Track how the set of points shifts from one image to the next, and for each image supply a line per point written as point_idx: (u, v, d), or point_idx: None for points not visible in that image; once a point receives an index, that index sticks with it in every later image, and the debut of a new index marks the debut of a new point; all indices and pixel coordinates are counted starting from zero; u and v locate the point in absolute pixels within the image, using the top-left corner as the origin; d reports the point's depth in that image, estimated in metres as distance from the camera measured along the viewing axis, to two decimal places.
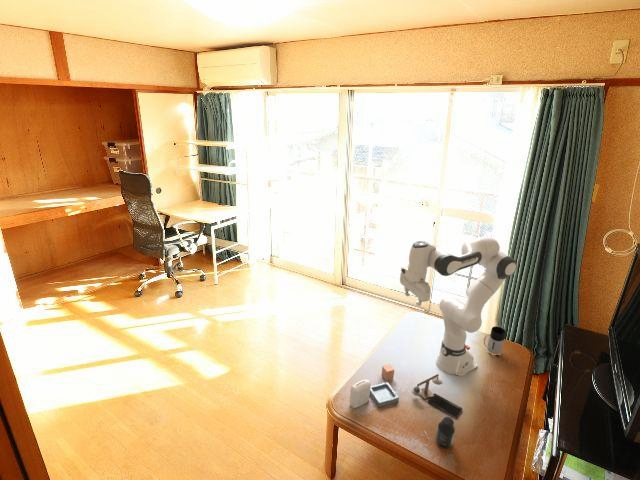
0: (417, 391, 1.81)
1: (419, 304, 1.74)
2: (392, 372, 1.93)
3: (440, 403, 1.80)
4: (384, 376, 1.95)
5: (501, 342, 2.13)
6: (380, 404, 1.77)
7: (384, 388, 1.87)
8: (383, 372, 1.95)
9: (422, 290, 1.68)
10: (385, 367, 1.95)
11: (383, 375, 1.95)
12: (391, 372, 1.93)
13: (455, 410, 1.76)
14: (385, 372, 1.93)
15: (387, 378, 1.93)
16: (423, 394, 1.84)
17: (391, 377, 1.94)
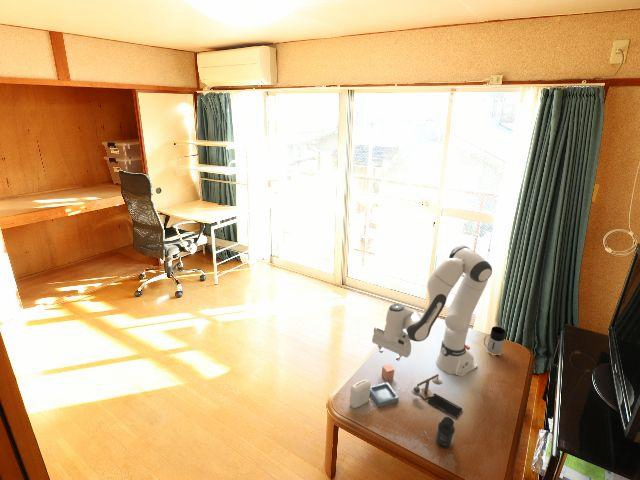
0: (417, 391, 1.81)
1: None
2: (392, 372, 1.93)
3: (440, 403, 1.80)
4: (384, 376, 1.95)
5: (501, 342, 2.13)
6: (380, 404, 1.77)
7: (384, 388, 1.87)
8: (383, 372, 1.95)
9: None
10: (385, 367, 1.95)
11: (383, 375, 1.95)
12: (391, 372, 1.93)
13: (455, 410, 1.76)
14: (385, 372, 1.93)
15: (387, 378, 1.93)
16: (423, 394, 1.84)
17: (391, 377, 1.94)
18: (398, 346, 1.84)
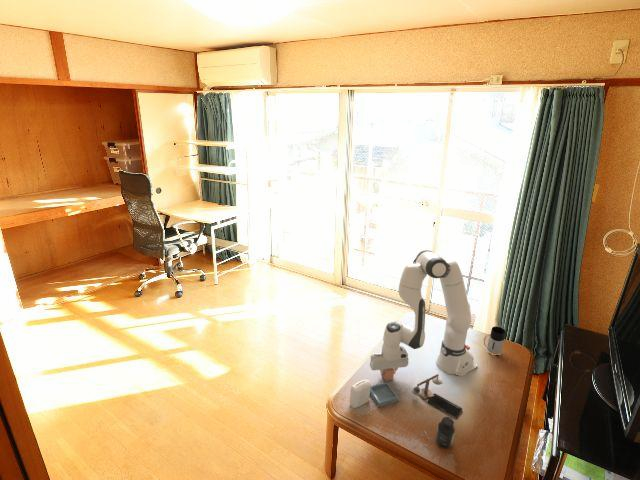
0: (417, 391, 1.81)
1: (380, 373, 1.95)
2: (392, 372, 1.93)
3: (440, 403, 1.80)
4: (384, 376, 1.95)
5: (501, 342, 2.13)
6: (380, 404, 1.77)
7: (384, 388, 1.87)
8: None
9: None
10: None
11: (383, 375, 1.95)
12: (391, 372, 1.93)
13: (455, 410, 1.76)
14: (385, 371, 1.93)
15: (387, 378, 1.93)
16: (423, 394, 1.84)
17: (391, 377, 1.94)
18: (398, 360, 1.92)
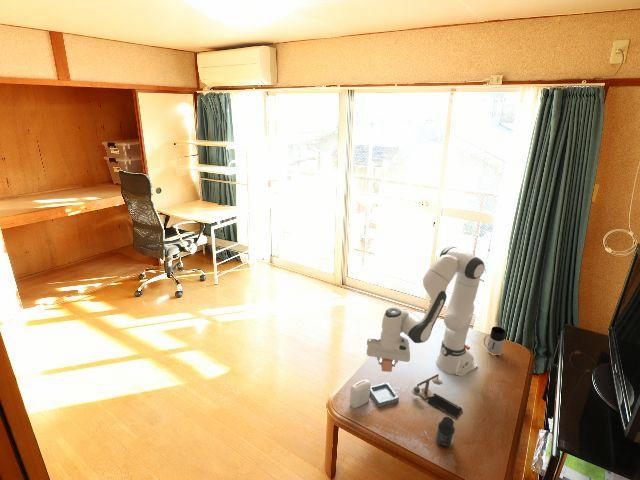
0: (417, 391, 1.81)
1: None
2: (390, 363, 1.74)
3: (440, 403, 1.80)
4: (381, 366, 1.77)
5: (501, 342, 2.13)
6: (380, 404, 1.77)
7: (384, 388, 1.87)
8: None
9: None
10: None
11: (381, 365, 1.78)
12: (389, 363, 1.74)
13: (455, 410, 1.76)
14: (382, 361, 1.75)
15: (384, 369, 1.75)
16: (423, 394, 1.84)
17: (389, 369, 1.75)
18: (398, 352, 1.71)
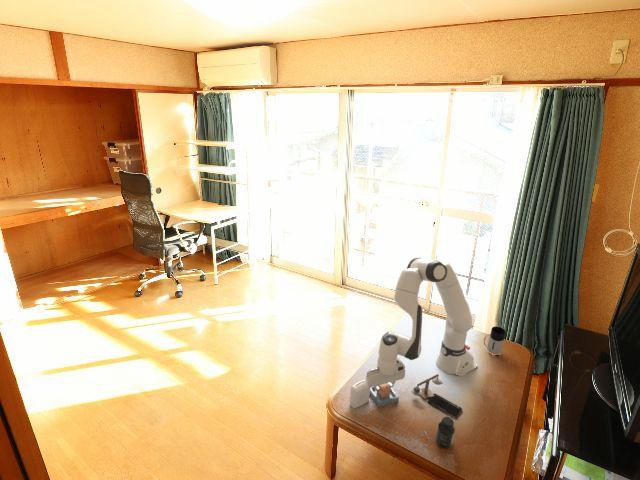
0: (417, 391, 1.81)
1: (375, 389, 1.80)
2: (388, 389, 1.80)
3: (440, 403, 1.80)
4: (380, 394, 1.81)
5: (501, 342, 2.13)
6: (380, 404, 1.77)
7: None
8: (379, 389, 1.82)
9: None
10: None
11: (379, 392, 1.82)
12: (387, 389, 1.80)
13: (455, 410, 1.76)
14: (381, 389, 1.80)
15: (383, 396, 1.81)
16: (423, 394, 1.84)
17: (387, 394, 1.82)
18: (395, 374, 1.79)
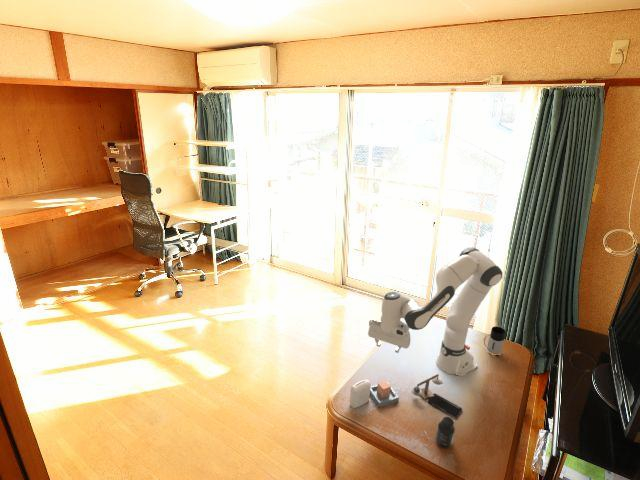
0: (417, 391, 1.81)
1: None
2: (388, 389, 1.81)
3: (440, 403, 1.80)
4: (380, 394, 1.81)
5: (501, 342, 2.13)
6: (380, 404, 1.77)
7: None
8: (379, 389, 1.82)
9: None
10: (381, 384, 1.81)
11: (379, 392, 1.82)
12: (387, 389, 1.80)
13: (455, 410, 1.76)
14: (381, 389, 1.80)
15: (383, 396, 1.81)
16: (423, 394, 1.84)
17: (387, 394, 1.82)
18: (397, 337, 1.73)
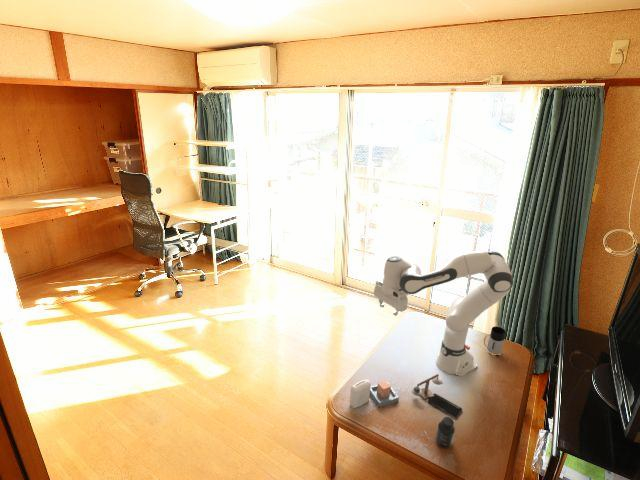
0: (417, 391, 1.81)
1: None
2: (388, 389, 1.81)
3: (440, 403, 1.80)
4: (380, 394, 1.81)
5: (501, 342, 2.13)
6: (380, 404, 1.77)
7: None
8: (379, 389, 1.82)
9: None
10: (381, 384, 1.81)
11: (379, 392, 1.82)
12: (387, 389, 1.80)
13: (455, 410, 1.76)
14: (381, 389, 1.80)
15: (383, 396, 1.81)
16: (423, 394, 1.84)
17: (387, 394, 1.82)
18: (394, 299, 1.85)
